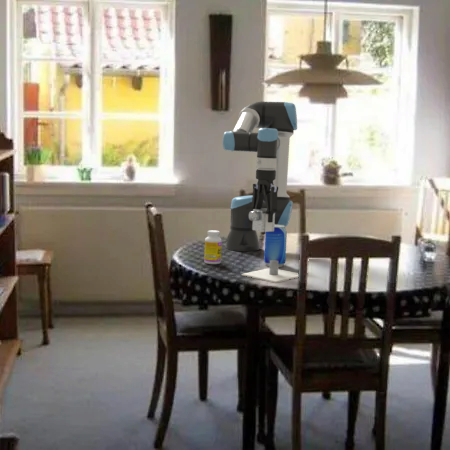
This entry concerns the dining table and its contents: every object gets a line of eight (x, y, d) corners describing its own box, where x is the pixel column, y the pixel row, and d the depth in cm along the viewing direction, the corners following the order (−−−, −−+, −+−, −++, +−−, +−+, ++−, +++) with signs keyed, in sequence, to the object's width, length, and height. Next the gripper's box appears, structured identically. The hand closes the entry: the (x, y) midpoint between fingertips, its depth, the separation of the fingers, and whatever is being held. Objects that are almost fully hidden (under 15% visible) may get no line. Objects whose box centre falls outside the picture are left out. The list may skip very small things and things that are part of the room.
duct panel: (271, 269, 307) (271, 255, 306) (305, 276, 297) (305, 261, 296) (241, 275, 294) (242, 260, 293) (275, 282, 283) (276, 267, 283)
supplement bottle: (218, 265, 311) (220, 232, 309) (202, 263, 312) (203, 231, 311) (222, 262, 318) (223, 230, 316) (206, 260, 319) (207, 229, 317)
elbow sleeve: (265, 229, 307) (266, 208, 306) (274, 231, 302) (275, 210, 301) (246, 230, 303) (247, 209, 302) (255, 232, 298) (256, 211, 297)
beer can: (261, 266, 313) (263, 226, 310) (267, 262, 321) (269, 223, 318) (281, 268, 310) (283, 227, 308) (287, 264, 318) (289, 225, 315)
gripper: (243, 167, 306) (241, 226, 309) (272, 171, 290) (269, 233, 293) (259, 167, 310) (257, 225, 313) (289, 171, 294) (285, 232, 297)
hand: (263, 229), depth 303 cm, fingers closed on elbow sleeve, 6 cm apart
